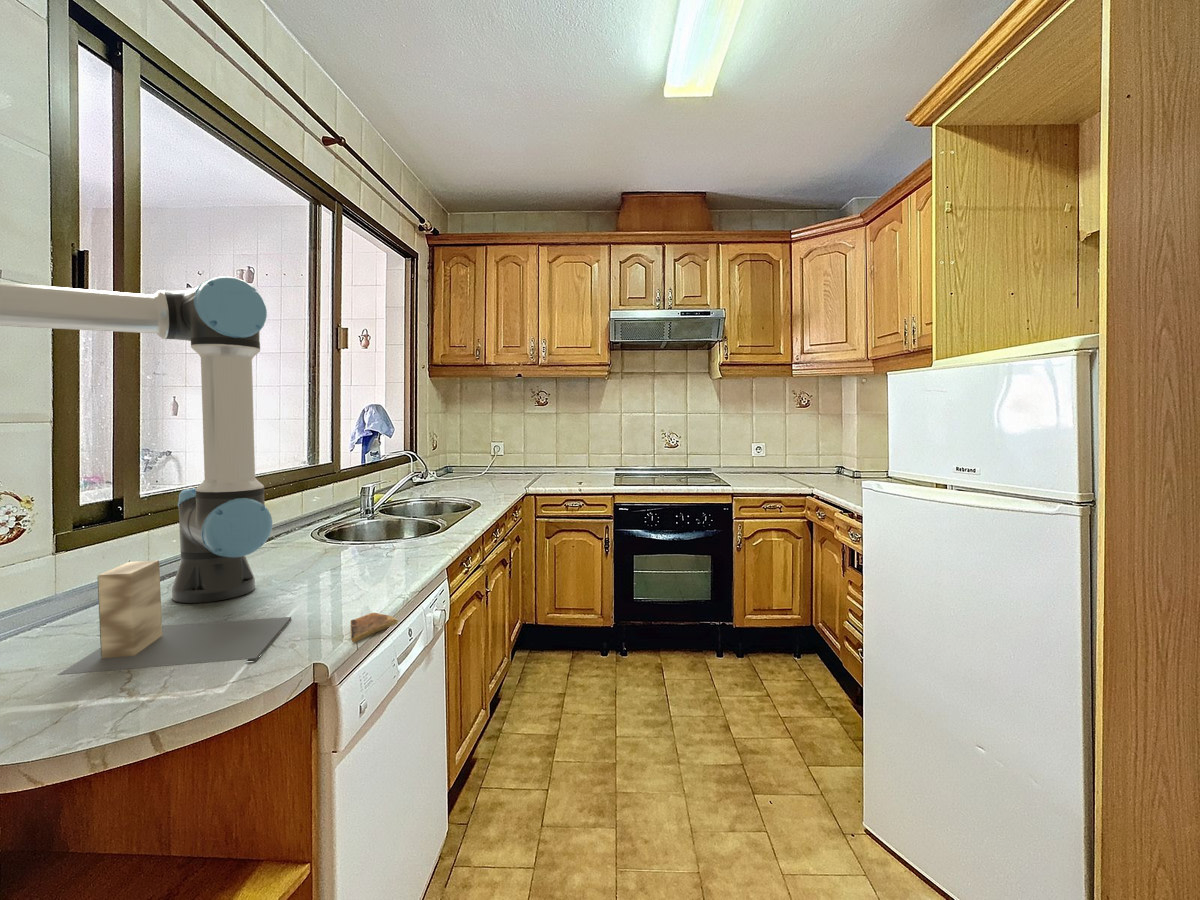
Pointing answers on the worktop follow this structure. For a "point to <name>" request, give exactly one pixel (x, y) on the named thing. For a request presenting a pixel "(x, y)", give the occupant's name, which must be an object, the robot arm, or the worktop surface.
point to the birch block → (129, 608)
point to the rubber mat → (193, 645)
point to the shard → (370, 625)
